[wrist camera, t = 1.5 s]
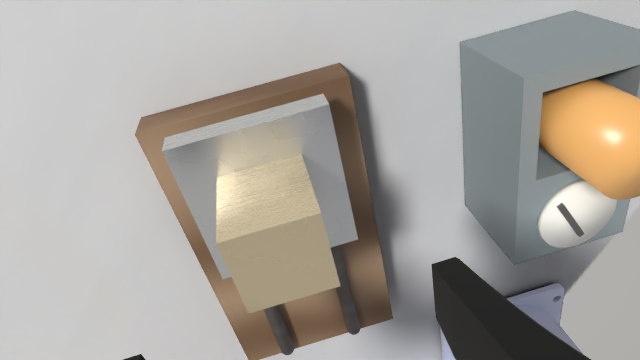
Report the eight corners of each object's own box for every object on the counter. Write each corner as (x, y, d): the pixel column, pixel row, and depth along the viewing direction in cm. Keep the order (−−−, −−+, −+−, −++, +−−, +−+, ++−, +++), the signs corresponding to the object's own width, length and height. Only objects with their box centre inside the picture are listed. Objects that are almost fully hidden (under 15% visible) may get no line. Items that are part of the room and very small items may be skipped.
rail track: (384, 298, 25) (397, 328, 23) (248, 339, 25) (250, 374, 23) (339, 63, 17) (354, 81, 16) (141, 117, 17) (131, 143, 15)
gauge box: (556, 178, 23) (630, 238, 19) (465, 205, 23) (520, 271, 18) (574, 10, 18) (679, 41, 14) (459, 42, 18) (532, 83, 14)
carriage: (351, 224, 18) (385, 305, 15) (222, 262, 18) (223, 354, 14) (323, 93, 15) (357, 154, 11) (164, 137, 15) (146, 214, 11)
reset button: (573, 122, 19) (676, 184, 14) (506, 141, 18) (591, 210, 14) (582, 54, 17) (701, 101, 13) (509, 74, 17) (605, 129, 13)
